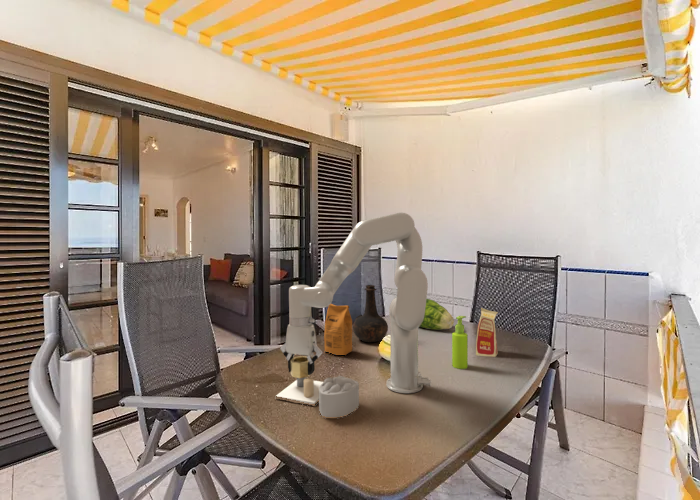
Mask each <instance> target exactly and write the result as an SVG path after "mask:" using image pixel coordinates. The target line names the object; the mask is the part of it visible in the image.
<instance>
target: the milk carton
mask: <svg viewBox="0 0 700 500" xmlns="http://www.w3.org/2000/svg"><path fill="white" fill-rule="evenodd" d="M480 312H481V314H480V318H479V320H478V321H479V322H478V324H477V333H476V338H475V339H476V340H475V356H479V357H480V356H481V357H492V358H496V357H497V355H498V354H499V351H498V341H497V335H496V334H497V333H496V324H495V318H496V316H497V314H498V313H499V312H498V311H493V310H489V309H487V308H486V309H485V308H483V307H480Z"/></svg>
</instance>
